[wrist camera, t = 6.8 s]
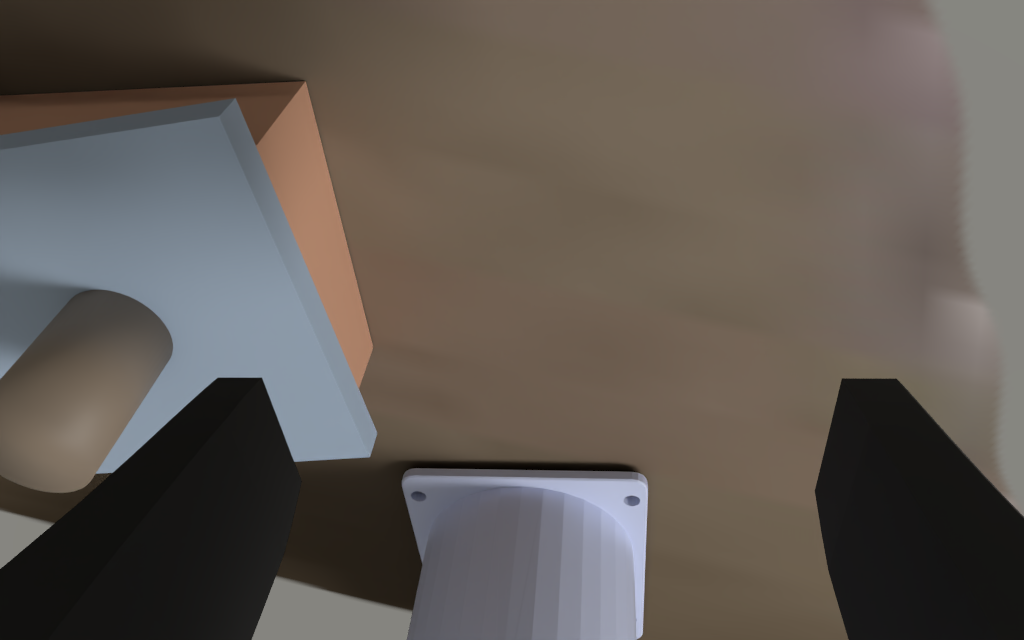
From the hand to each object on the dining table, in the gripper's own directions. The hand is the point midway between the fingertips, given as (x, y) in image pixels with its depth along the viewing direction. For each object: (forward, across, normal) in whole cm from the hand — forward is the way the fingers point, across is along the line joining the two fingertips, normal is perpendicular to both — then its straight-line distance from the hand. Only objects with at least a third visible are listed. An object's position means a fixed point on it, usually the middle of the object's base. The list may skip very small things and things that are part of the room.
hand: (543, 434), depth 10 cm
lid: (+6, +10, +3) cm, 12 cm away
